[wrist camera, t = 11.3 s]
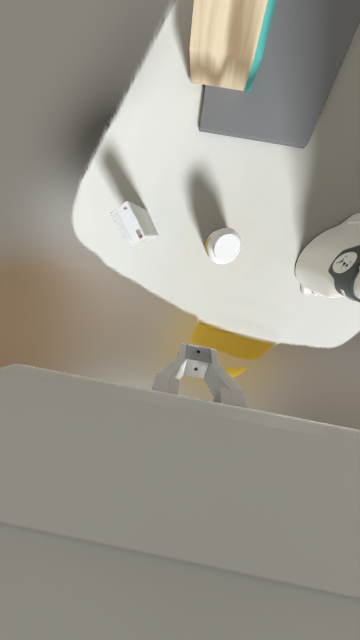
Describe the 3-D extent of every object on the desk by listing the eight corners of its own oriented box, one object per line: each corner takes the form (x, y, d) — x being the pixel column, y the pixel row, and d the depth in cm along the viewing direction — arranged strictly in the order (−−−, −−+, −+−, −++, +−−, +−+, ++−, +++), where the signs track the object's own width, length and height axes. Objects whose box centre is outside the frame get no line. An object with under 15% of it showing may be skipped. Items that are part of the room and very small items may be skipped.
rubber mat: (362, 5, 19) (370, -5, 18) (303, 148, 26) (306, 145, 25) (220, -15, 19) (221, -27, 18) (199, 131, 26) (199, 127, 25)
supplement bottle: (214, 263, 38) (220, 274, 27) (200, 243, 36) (200, 246, 25) (236, 246, 35) (253, 250, 24) (222, 222, 33) (234, 216, 22)
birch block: (281, -22, 16) (197, -34, 16) (261, 58, 18) (189, 47, 19) (264, 33, 20) (197, 22, 20) (249, 91, 23) (191, 82, 23)
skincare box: (133, 219, 35) (106, 212, 24) (148, 209, 33) (125, 197, 23) (146, 244, 37) (127, 247, 27) (160, 236, 36) (145, 236, 26)
